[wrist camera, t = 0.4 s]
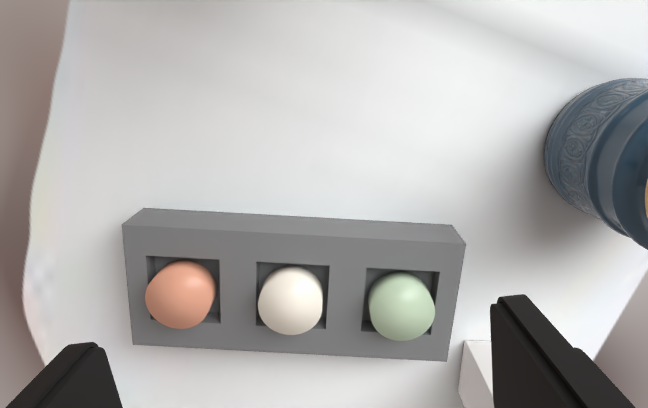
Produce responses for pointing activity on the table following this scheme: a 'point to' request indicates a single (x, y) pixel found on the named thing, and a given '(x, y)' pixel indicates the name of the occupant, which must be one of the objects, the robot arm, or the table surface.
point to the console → (301, 250)
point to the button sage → (400, 306)
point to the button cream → (291, 300)
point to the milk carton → (476, 375)
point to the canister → (604, 155)
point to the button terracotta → (181, 294)
